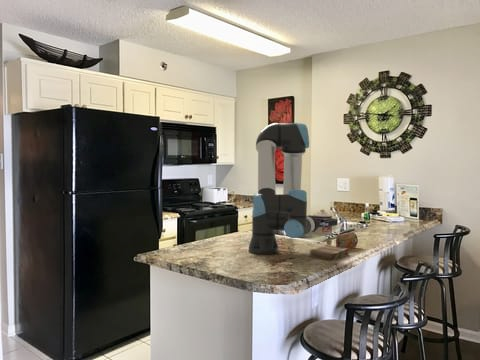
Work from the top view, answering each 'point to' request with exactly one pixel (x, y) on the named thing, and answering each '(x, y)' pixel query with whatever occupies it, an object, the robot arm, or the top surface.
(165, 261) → the top surface
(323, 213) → the teacup with lid
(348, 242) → the brown flat oval piece
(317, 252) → the board
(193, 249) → the top surface
